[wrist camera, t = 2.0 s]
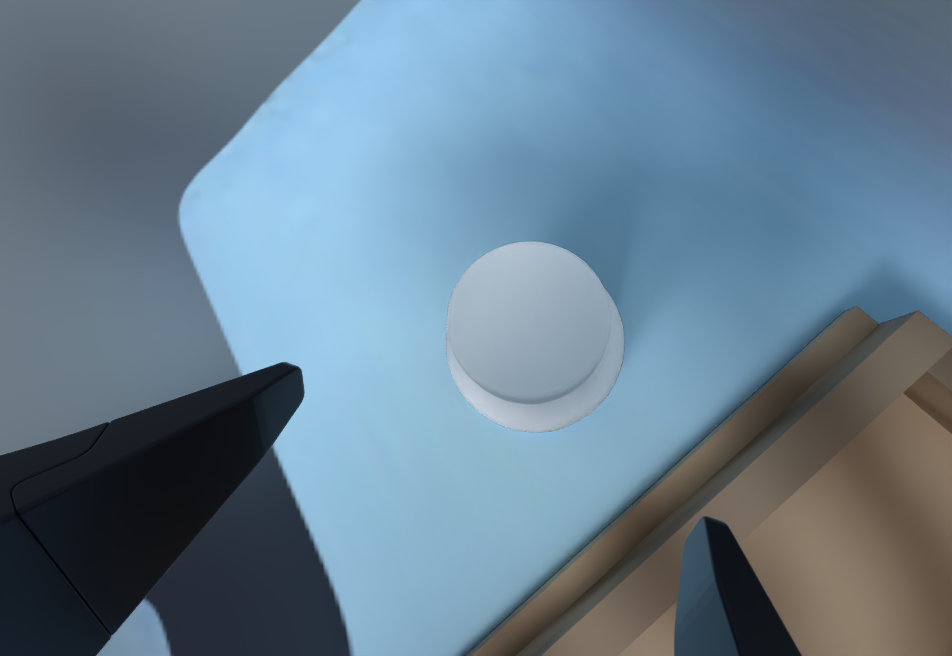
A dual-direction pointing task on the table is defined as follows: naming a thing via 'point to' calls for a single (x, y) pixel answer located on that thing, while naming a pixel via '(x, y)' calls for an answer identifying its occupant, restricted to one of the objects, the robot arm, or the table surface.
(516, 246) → the supplement bottle
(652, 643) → the walnut track
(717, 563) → the robot arm
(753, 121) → the table surface
